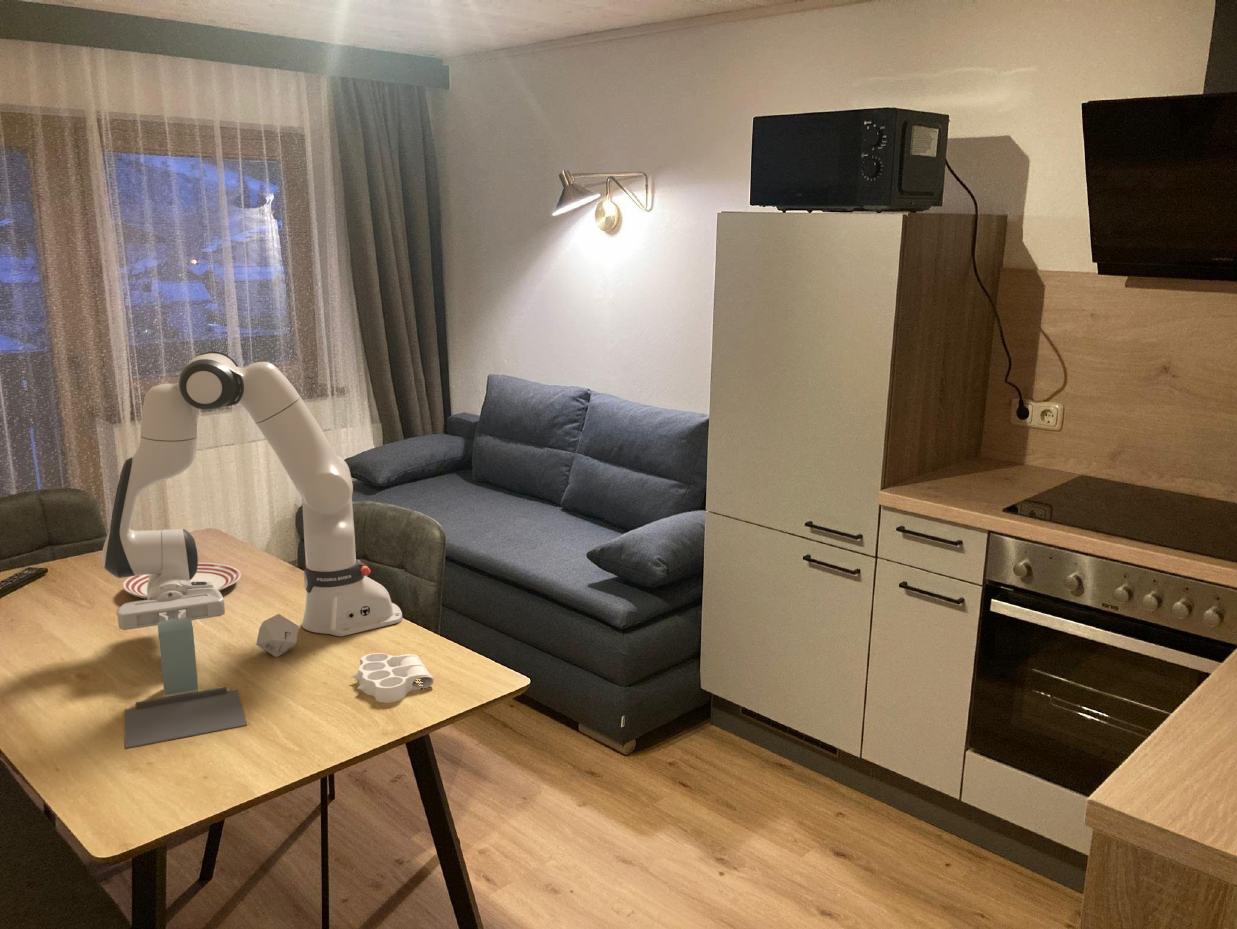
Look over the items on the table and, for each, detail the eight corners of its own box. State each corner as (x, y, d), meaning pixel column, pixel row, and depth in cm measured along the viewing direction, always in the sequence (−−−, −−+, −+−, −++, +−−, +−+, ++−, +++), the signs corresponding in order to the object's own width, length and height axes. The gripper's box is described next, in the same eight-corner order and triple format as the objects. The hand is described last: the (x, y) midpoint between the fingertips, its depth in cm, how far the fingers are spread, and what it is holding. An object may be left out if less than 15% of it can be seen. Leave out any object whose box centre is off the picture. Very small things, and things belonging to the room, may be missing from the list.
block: (196, 682, 198) (190, 617, 195) (198, 695, 192) (192, 627, 189) (163, 688, 195) (157, 622, 192) (165, 701, 190) (158, 632, 187)
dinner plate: (202, 565, 269) (201, 553, 268) (263, 586, 254) (262, 574, 253) (102, 593, 247) (100, 580, 247) (162, 618, 232) (160, 604, 231)
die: (252, 663, 208) (273, 633, 205) (246, 632, 214) (266, 602, 210) (289, 667, 214) (309, 637, 210) (282, 636, 219) (301, 607, 216)
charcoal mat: (237, 690, 195) (237, 684, 194) (247, 725, 181) (246, 719, 180) (124, 710, 186) (123, 704, 186) (125, 748, 172) (124, 742, 172)
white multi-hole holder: (438, 695, 194) (363, 709, 188) (415, 660, 210) (345, 672, 204) (437, 679, 194) (362, 693, 187) (414, 645, 209) (344, 657, 203)
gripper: (114, 594, 206) (114, 616, 194) (219, 580, 215) (225, 601, 203) (117, 622, 208) (117, 646, 195) (222, 607, 216) (228, 629, 204)
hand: (173, 623), depth 199 cm, fingers closed
